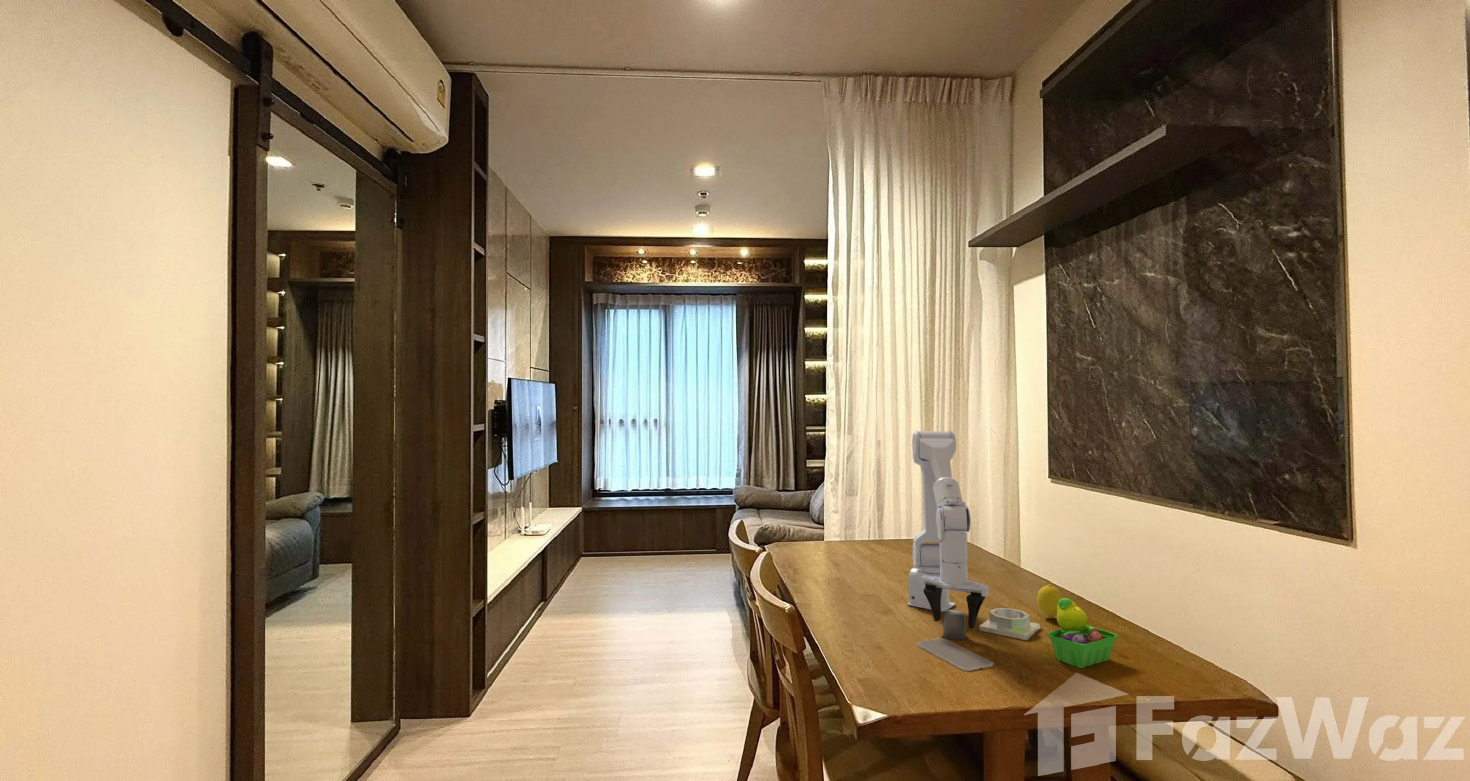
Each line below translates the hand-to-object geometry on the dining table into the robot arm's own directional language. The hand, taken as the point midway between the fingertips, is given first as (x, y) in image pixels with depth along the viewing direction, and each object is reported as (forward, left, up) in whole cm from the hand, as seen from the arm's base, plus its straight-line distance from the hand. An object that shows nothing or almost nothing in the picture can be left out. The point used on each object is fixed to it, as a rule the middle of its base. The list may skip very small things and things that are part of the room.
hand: (954, 623), depth 140 cm
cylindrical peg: (0, 0, -3) cm, 3 cm away
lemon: (+13, +26, -3) cm, 29 cm away
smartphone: (+4, -11, -3) cm, 12 cm away
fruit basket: (+24, +3, -3) cm, 24 cm away
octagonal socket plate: (+8, +12, -3) cm, 15 cm away
